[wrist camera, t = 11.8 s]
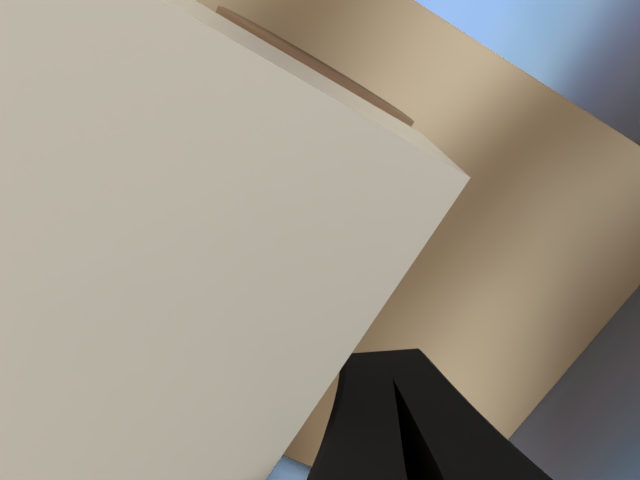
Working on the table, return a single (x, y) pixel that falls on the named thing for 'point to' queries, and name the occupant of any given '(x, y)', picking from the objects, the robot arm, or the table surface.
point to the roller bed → (478, 202)
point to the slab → (186, 239)
